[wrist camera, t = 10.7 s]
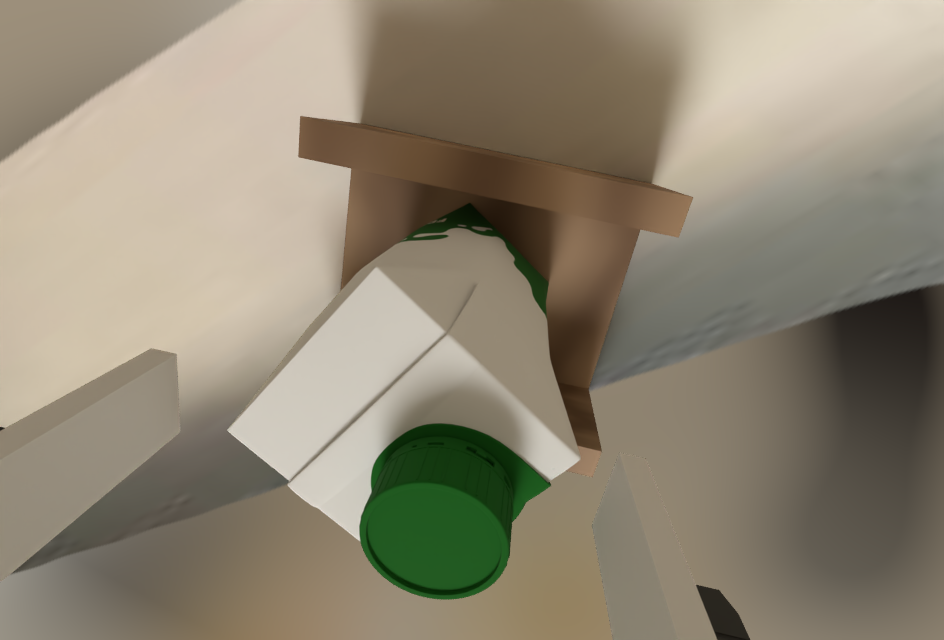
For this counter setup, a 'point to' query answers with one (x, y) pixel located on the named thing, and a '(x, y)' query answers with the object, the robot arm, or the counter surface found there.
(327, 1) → the counter surface
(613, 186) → the u rest
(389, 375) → the soya milk
